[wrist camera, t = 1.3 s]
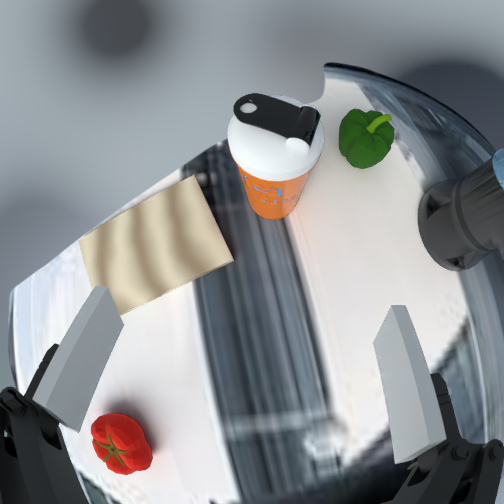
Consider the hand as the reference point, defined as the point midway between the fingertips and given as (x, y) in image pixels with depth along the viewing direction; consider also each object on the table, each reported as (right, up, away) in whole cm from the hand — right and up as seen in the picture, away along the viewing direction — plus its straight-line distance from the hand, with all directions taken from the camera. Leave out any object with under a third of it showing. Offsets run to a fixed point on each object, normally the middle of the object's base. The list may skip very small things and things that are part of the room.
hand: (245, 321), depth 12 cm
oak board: (-15, +3, +28) cm, 32 cm away
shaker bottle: (+3, +11, +29) cm, 31 cm away
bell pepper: (+17, +19, +29) cm, 39 cm away
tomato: (-20, -28, +23) cm, 41 cm away
